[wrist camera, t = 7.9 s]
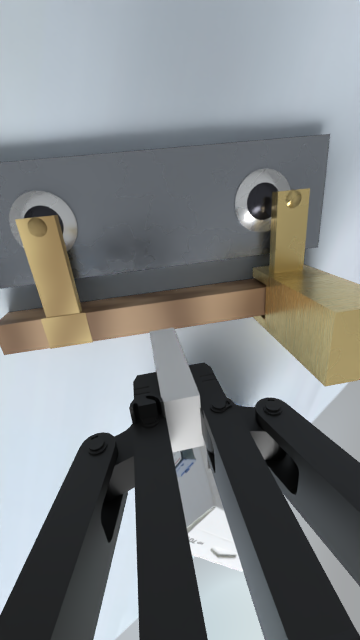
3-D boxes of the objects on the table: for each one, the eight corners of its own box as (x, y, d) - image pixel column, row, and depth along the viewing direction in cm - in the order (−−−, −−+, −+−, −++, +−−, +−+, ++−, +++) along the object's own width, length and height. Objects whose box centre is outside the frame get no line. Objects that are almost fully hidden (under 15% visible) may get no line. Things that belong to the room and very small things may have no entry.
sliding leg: (252, 316, 25) (324, 386, 16) (253, 193, 21) (354, 185, 12) (292, 310, 26) (388, 374, 16) (301, 188, 22) (438, 176, 12)
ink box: (242, 424, 31) (298, 539, 21) (212, 452, 32) (251, 575, 22) (186, 389, 28) (218, 504, 17) (155, 422, 29) (168, 548, 18)
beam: (18, 338, 23) (4, 355, 21) (-26, 223, 20) (-50, 226, 17) (304, 296, 26) (323, 306, 23) (315, 187, 22) (338, 185, 20)
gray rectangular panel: (-2, 285, 21) (-11, 290, 20) (-46, 169, 18) (-60, 166, 17) (309, 245, 24) (319, 247, 23) (319, 137, 21) (332, 133, 19)
